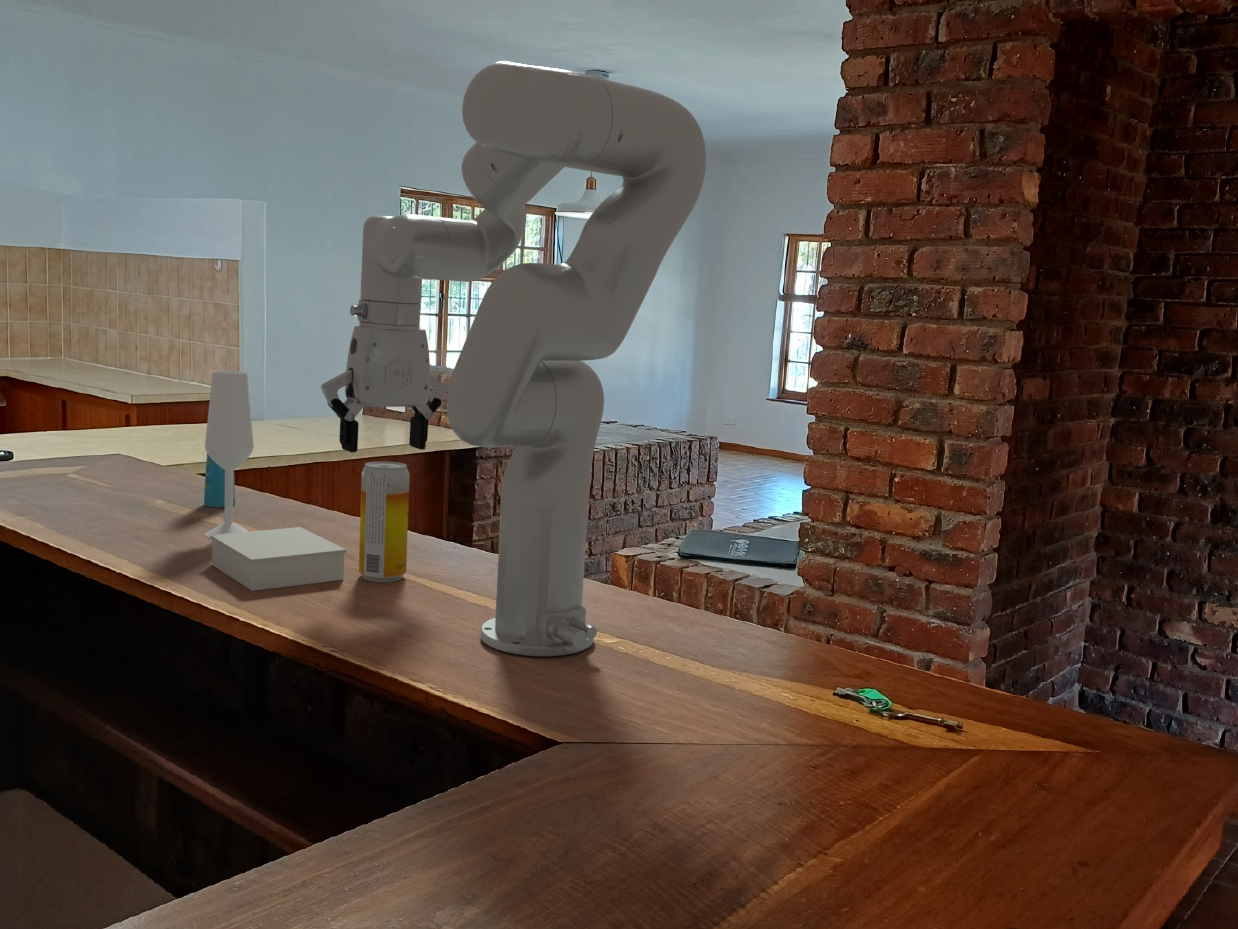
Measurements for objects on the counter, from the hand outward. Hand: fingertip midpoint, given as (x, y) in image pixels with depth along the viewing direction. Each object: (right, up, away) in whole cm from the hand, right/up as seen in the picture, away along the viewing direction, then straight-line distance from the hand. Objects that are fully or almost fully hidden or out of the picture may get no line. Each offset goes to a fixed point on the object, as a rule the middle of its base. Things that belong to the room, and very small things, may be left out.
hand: (384, 449), depth 141 cm
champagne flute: (-27, -13, +20) cm, 36 cm away
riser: (-14, -16, +1) cm, 21 cm away
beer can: (-1, -17, +2) cm, 17 cm away
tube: (-36, -9, +40) cm, 54 cm away
